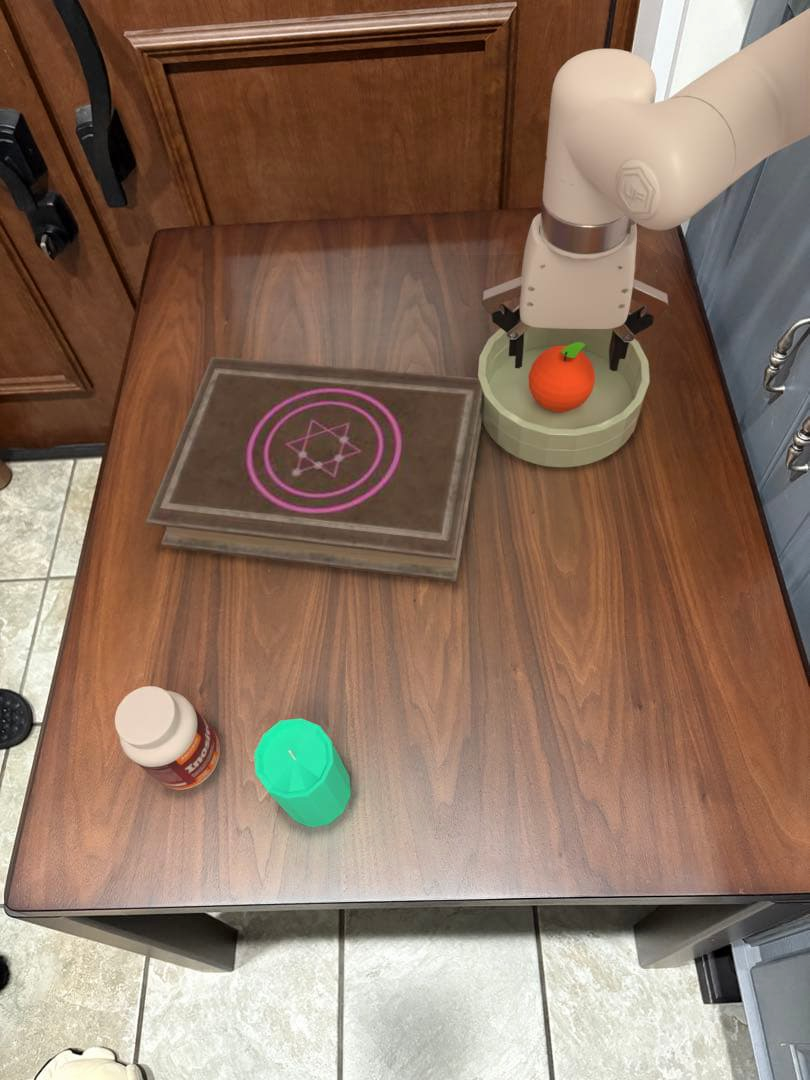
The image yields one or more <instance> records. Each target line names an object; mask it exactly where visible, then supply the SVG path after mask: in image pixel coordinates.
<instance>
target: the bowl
mask: <svg viewBox="0 0 810 1080" xmlns="http://www.w3.org/2000/svg"><path fill="white" fill-rule="evenodd" d="M612 332H613V330H612V329H560V328H538V327H531V328H530V329H528V330H527V331H526V332H525V333H524V346H523V359H522V367H520V368H515V356H509V341H510V339H509V338H508V337H507V333H506V332H505V331H504V330H503V329H501V328H500V327H499V329H497V331H495V333H493V334H492V335H491V336H490V337H489V338H487V341H486V342H485V345H484V347H483V349H482V351H481V353H480V354H479V357H478V370H477V378H478V379H479V382H480V385H481V388H482V391H483V397H482V403H481V409H480V413H481V416H482V426H483V427H484V430H485V431H486V432H487V434H488V435H489V437H490V438H491V439H492V440H493V441H494V442H495V444H497V445H498V446H499V447H500V448H502V449H503V450H504V451H506V452H507V453H509V454H510V455H513V456H514V457H516V458H518V459H520V460H523V461H525V462H528V463H530V464H533V465H537V466H542V467H549V468H572V467H573V468H574V467H581V466H585V465H589V464H593V463H596V462H599V461H601V460H603V459H605V458H608V457H609V456H610V455H612V454H613V453H615V452H617V451H618V450H619V449H620V448H621V447H623V446H624V445H625V444H626V442H627V441H628V440H629V439H630V438H631V436H632V435H633V433H634V432H635V429H636V427H637V425H638V421H639V420H640V419H639V418H640V416H641V413H642V410H643V406H644V403H645V400H646V396H647V392H648V388H649V386H650V382H651V381H650V380H651V379H650V368H649V367H650V365H649V360H648V358H647V356H646V354H645V352H644V350H643V349H642V346H641V344H640V342H639V341H638V340H637V339H636V338H634V340H633V341H631V342H629V345H628V349H627V353H626V358H625V359H620V360H619V364H618V368H617V371H611V370H610V368H609V347H610V342H611V337H612ZM576 342H582V343H584V344H586V345H587V350H586V347H585V346H584V347H583V348H582V350H581V351H582V352H583V353H584V354H585V355H586V356H587V357H588V358H589V359H590V361H591V363H592V365H593V368H594V373H595V383H594V387H593V390H592V392H591V395H590V396H589V397H588V399H587V400H586V401H585V402H584V403H583V404H582V405H580V406H579V407H578V408H575V409H573V410H570V411H567V412H554V411H550V410H548V409H545V408H544V407H542V406H541V405H540V404H539V403H537V401H536V400H535V399H534V398H533V395H532V393H531V391H530V388H529V373H530V370H531V367H532V364H533V363H534V361H535V360H536V359H537V357H538V356H539V355H540V354H541V353H543V352H544V351H546V350H547V349H549V348H552V347H555V346H568V345H570V344H572V343H576Z"/></svg>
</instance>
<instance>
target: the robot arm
mask: <svg viewBox="0 0 810 1080" xmlns="http://www.w3.org/2000/svg"><path fill="white" fill-rule="evenodd" d="M551 88H552V90H551V96H550V107H549V119H548V129H547V130H548V131H547V142H546V153H545V165H544V175H543V187H542V199H541V200H542V201H541V211H540V213H538V214H536V216H534V218H533V219H532V221H531V224H530V227H529V230H528V234H527V237H526V240H525V241H526V242H525V246H524V250H523V251H524V252H523V259H522V265H521V274H520V276H518V277H516V278H513V279H511V280H508V281H506V282H503V283H500V284H498V285H495V286H492V287H491V288H488V289H484V291H483V292H482V295H481V297H482V298H481V305H482V306H483V308H484V309H485V310H486V312H487V313H488V315H490V317H491V321H492V323H494V325H496V326H498V327H499V329H500V328H501V329H503V330H504V331H505V332H506V333H507V337H508V338H509V339H510V341H509V356H515V368H520V367H522V359H523V346H524V333H525V332H526V331H527V330H528V329H530V328H531V327H538V328H560V329H612V330H613V332H612V337H611V342H610V347H609V368H610V370H611V371H617V368H618V364H619V360H620V359H625V358H626V353H627V349H628V345H629V342H631V341H633V340H634V338H635V337H636V335H638V334H640V333H641V332H643V331H644V330H647V329H648V328H650V327H651V326H652V325H653V324H654V321H655V320H656V319H658V318H659V317H660V316H661V315H662V314H663V313H664V312H665V311H666V310H667V309H668V307H669V296H668V294H667V293H666V292H663V291H662V290H660V289H658V288H656V287H653V286H651V285H648V284H647V283H644V282H642V281H640V280H638V279H637V278H636V279H635V271H636V257H637V245H638V243H637V242H638V229H637V224H638V225H639V226H642V227H643V228H646V229H648V230H652V231H653V230H654V231H667V230H671V229H674V228H676V227H678V226H681V225H682V224H684V223H685V222H687V221H689V220H690V219H691V218H692V217H694V215H696V214H698V212H699V211H701V210H703V209H704V208H705V207H706V206H707V205H709V204H710V203H711V202H713V201H714V200H715V199H716V198H717V197H719V196H720V195H721V194H722V193H723V192H724V191H725V190H727V189H728V188H730V186H732V185H733V184H734V183H735V182H737V181H738V180H739V179H740V178H741V177H743V176H744V175H745V174H746V173H748V172H749V171H750V170H752V169H753V168H754V167H756V166H757V165H758V164H760V163H761V162H762V161H763V160H765V159H767V158H768V157H770V156H771V155H774V153H776V152H778V151H780V150H782V149H784V148H786V147H788V146H791V145H792V144H794V143H796V142H799V141H801V140H803V139H805V138H807V137H810V7H809V8H807V9H806V10H804V11H802V12H801V13H799V14H798V15H796V16H794V17H792V18H791V19H789V20H788V21H786V22H784V23H783V24H781V25H780V26H778V27H776V28H775V29H772V30H771V31H770V32H768V33H766V34H765V35H763V36H762V37H760V38H758V39H757V40H754V41H753V42H752V43H750V44H748V45H746V46H745V47H744V48H742V49H740V50H738V51H737V52H735V53H734V54H732V55H730V56H729V57H728V58H725V59H724V60H722V61H721V62H719V63H718V64H716V65H715V66H713V67H712V68H711V69H709V70H707V71H706V72H704V73H703V74H701V75H700V76H698V77H697V78H696V79H694V80H692V81H691V82H690V83H689V84H687V85H685V86H684V87H683V88H681V89H680V90H678V91H677V92H676V93H675V94H673V95H672V96H670V97H669V98H667V99H666V100H662V101H658V102H657V101H656V95H657V80H656V76H655V72H654V71H653V69H652V67H651V66H650V64H649V63H648V62H647V61H646V60H644V59H643V58H642V57H641V56H639V55H637V54H635V53H633V52H631V51H627V50H623V49H617V48H596V49H590V50H587V51H583V52H581V53H579V54H577V55H575V56H573V57H571V58H570V59H568V60H567V61H566V62H565V63H564V64H562V66H561V67H560V69H559V70H558V71H557V73H556V75H555V78H554V81H553V83H552V87H551ZM655 101H656V102H655ZM517 298H519V304H518V305H517V306H516V307H514V308H513V309H512V310H511V309H510V308H509V307H508V306H506V305H505V304H504V303H507V302H510V301H511V300H514V299H517ZM632 300H633V301H635V302H638V303H640V304H642V305H643V306H642V307H640V308H638V309H637V310H635V311H634V312H631V311H630V307H631V302H632ZM635 339H636V338H635Z"/></svg>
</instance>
